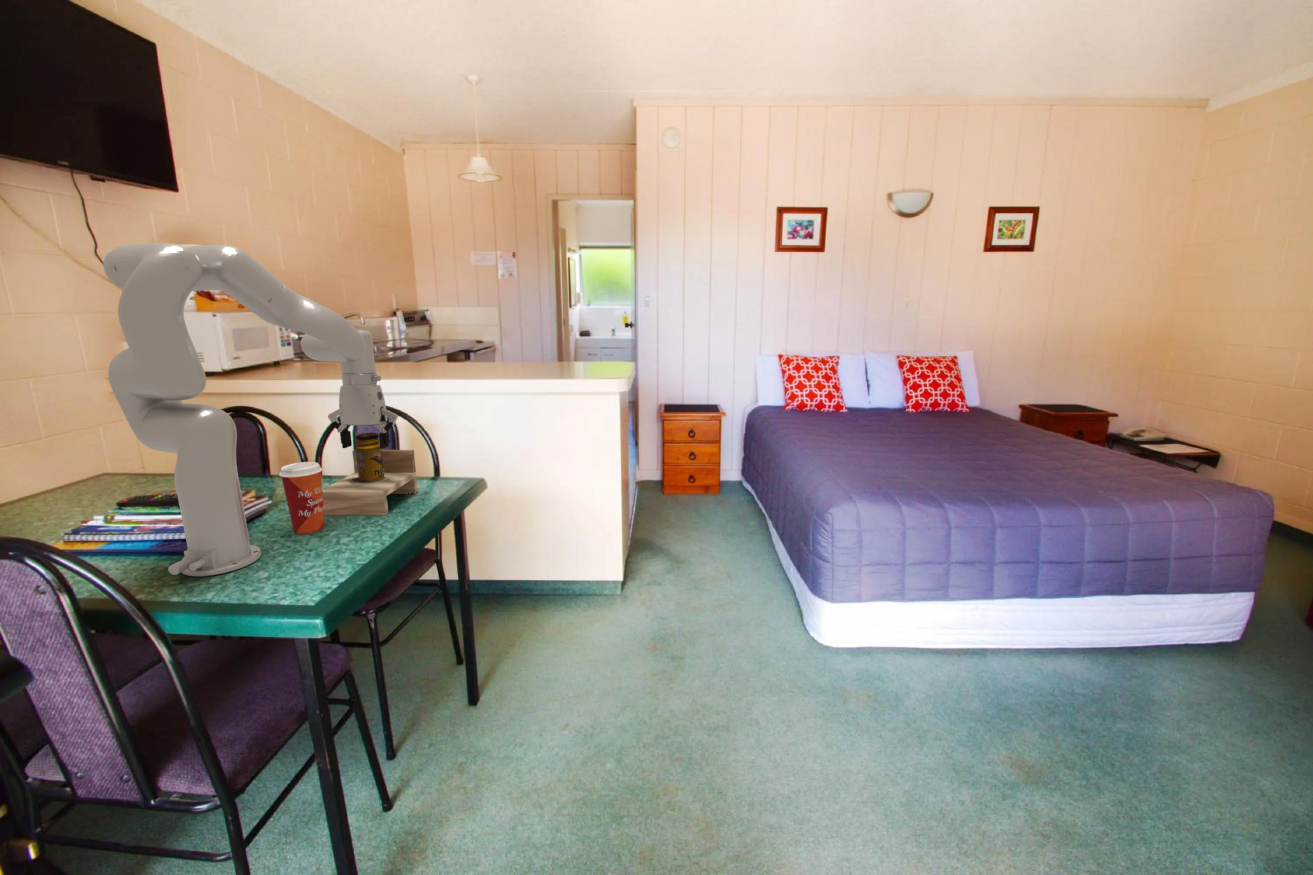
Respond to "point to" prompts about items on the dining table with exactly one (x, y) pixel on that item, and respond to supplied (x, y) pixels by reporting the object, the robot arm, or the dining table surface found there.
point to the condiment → (368, 460)
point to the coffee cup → (304, 496)
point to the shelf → (372, 487)
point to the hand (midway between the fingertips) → (365, 447)
